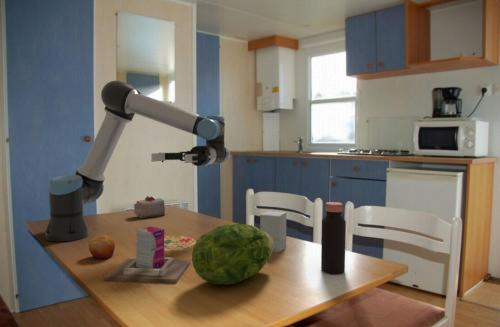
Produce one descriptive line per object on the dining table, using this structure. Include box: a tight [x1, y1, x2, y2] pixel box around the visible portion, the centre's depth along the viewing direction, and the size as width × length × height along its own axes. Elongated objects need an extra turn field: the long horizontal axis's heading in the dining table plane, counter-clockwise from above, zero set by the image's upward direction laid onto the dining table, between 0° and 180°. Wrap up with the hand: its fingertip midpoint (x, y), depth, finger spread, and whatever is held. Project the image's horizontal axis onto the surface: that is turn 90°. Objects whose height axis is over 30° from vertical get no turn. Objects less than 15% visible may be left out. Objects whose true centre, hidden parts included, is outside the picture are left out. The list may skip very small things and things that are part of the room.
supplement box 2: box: [259, 210, 287, 253], centre depth 138 cm, size 7×7×13 cm
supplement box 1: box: [135, 226, 165, 269], centre depth 114 cm, size 6×6×12 cm
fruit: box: [88, 234, 116, 259], centre depth 128 cm, size 8×8×8 cm
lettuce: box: [191, 223, 274, 285], centre depth 108 cm, size 15×27×16 cm, turn 137°
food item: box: [133, 195, 166, 219], centre depth 192 cm, size 14×8×10 cm, turn 128°
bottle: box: [320, 201, 347, 275], centre depth 115 cm, size 7×7×20 cm
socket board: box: [103, 256, 191, 284], centre depth 114 cm, size 20×16×2 cm
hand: (168, 158), depth 132 cm, fingers open, 13 cm apart
